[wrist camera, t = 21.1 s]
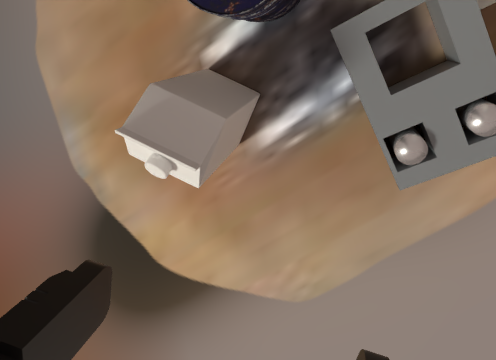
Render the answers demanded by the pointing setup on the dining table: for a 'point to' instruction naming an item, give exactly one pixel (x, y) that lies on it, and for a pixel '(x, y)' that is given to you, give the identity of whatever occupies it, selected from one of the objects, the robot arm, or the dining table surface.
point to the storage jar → (247, 8)
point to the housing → (426, 86)
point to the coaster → (485, 3)
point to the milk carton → (188, 124)
